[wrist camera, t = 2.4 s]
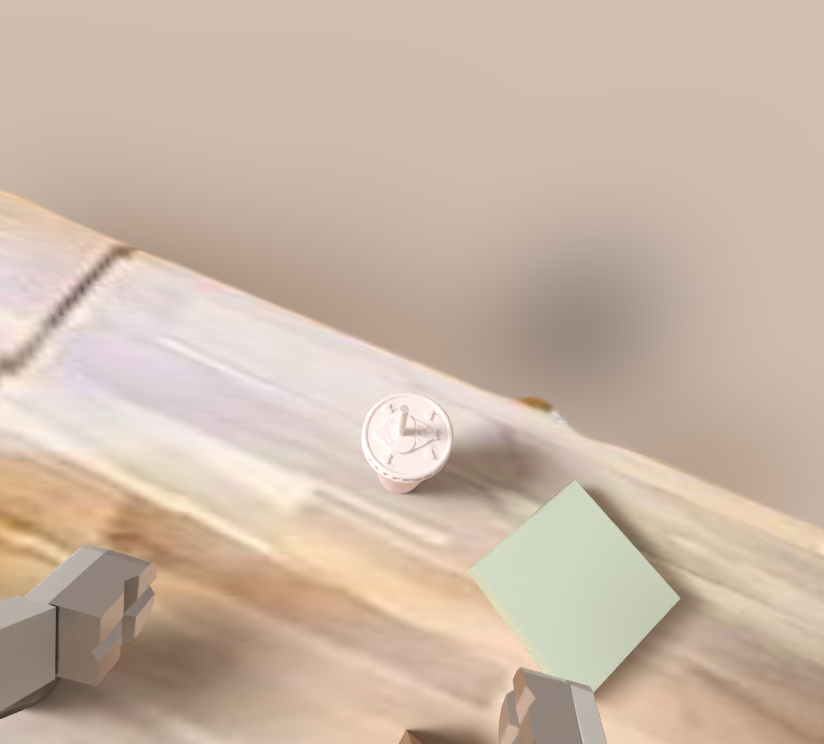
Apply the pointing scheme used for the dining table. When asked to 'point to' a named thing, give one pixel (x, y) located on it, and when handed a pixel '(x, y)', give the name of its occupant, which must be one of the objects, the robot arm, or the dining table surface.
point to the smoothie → (406, 440)
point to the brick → (410, 739)
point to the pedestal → (573, 588)
